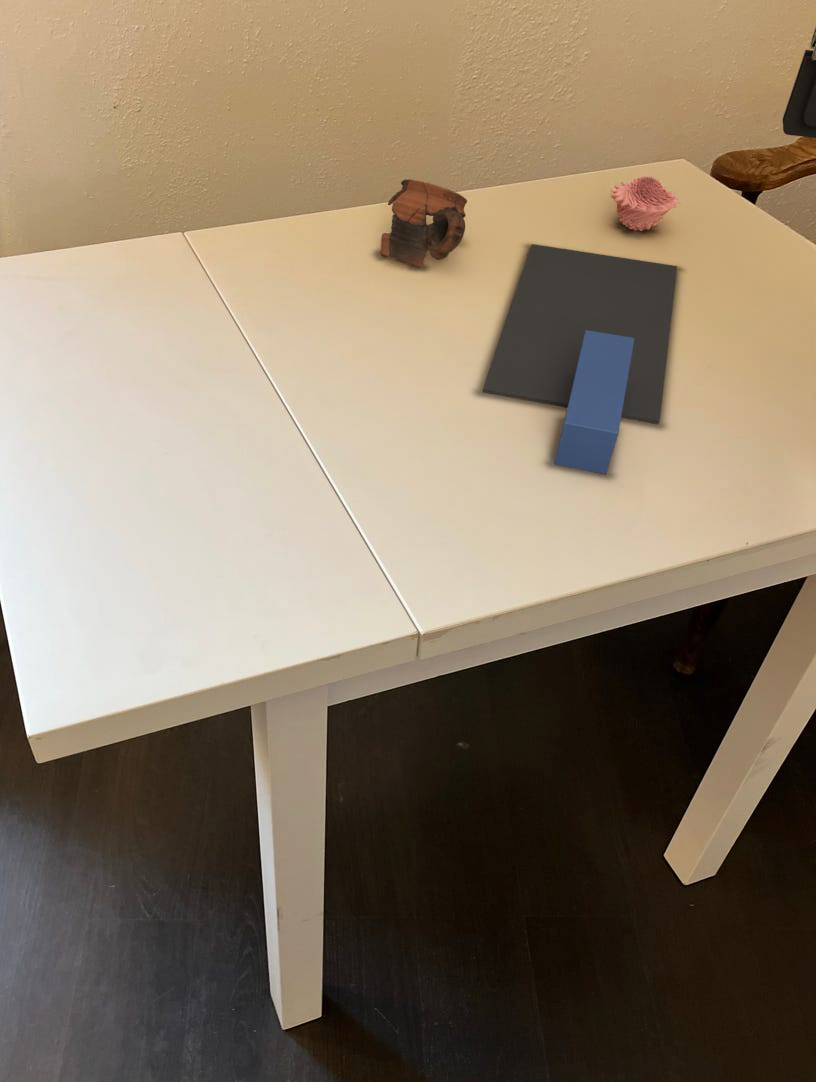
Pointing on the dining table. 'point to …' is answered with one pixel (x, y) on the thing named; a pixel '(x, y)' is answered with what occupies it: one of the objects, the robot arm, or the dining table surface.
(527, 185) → the dining table surface
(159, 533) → the dining table surface
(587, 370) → the blue post
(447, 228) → the brown broken pot
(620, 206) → the pink coral piece
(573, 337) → the rubber mat
